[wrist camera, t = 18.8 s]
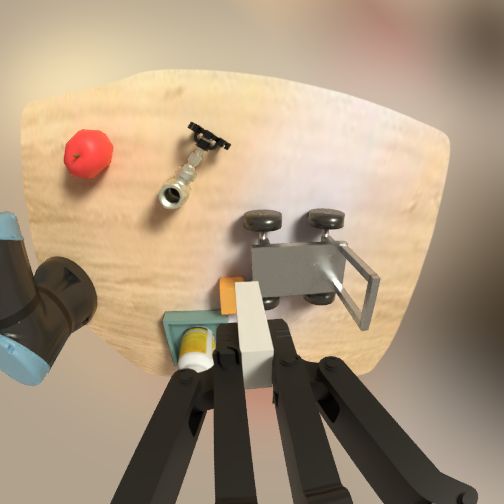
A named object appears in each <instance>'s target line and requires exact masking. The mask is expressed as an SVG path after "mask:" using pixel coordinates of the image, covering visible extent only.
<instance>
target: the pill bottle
mask: <svg viewBox="0 0 504 504" xmlns="http://www.w3.org/2000/svg"><path fill="white" fill-rule="evenodd" d="M215 349H216V338H215V335H214V333H213V332H212V331H211V330H210V329H208V328H206V327H204V326H192V327H189V328H188V329H187V330H185V332H184V334H183V337H182V343H181V349H180V355H179V361H178V367H179V370H180V369H184V368H190V369H193V370H195V371H196V372H202V371H205V370H208V369H209V368H211V367H212V366H213V365H214V363H213V356H212V354H213V351H214V350H215Z"/></svg>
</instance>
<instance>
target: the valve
mask: <svg viewBox="0 0 504 504" xmlns="http://www.w3.org/2000/svg"><path fill="white" fill-rule="evenodd" d="M188 128H189V129H191V130H192V131H194V133H193V140H194V141H195V142H196V146H198V148H197V150H196V151H195V153H194V152H192V153H191V154H190V156H189V158H188V159H187V160H188V161H189V162H188V163H187V164H184V166H183V167H182V166H178V168H177V170H176V171H175V172H176V176H175V178H172V179H170V180H168V181H166V182H165V183H164V185H163V186H162V189H161V191H160V193H159V194H158V199H159V201H160V203H161V205H162V206H163V208H164V209H178V208H179V207H180V206H181V205H183V204H184V203H185V202H186V201H187V200H188V198H189V194H190V190H191V188H190V186H189V184H190V182H193V181H194V180H195V178H196V176H197V175H196V174H195V173H194V171H195V169H194V167H195V166H196V165H197V166H198V164H199V163H200V161H201V159H202V158H203V157H201V155H202V153H203V151H204V150H205V151H208V150H211V151H213V150H216V149H218V147H219V146H220V147H224V145H225V147H224V149H226V150H228V149H229V148H230V146H231V144H230V143H228V142H226V141H225V140H223V139H222V138H220V137H219V138H218V137H217V136H215V135H214V134H213V133H211V132H210V131H208V130H204V128H202V127H201V126H199V125H197V124H195V123H193V122H190V124H189V126H188ZM198 133H199V134H200V133H202V134H203V136H201V137H200V138H199V139H198V138H197V135H198ZM213 140H214V141H216V143H215V145H214V146H211V145H212V144H213V143H212V141H213ZM171 188H175V189H176V190H177V191H178V192H179V194H180V197H176V196H174V195H173V194H172V192H171Z"/></svg>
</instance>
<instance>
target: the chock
mask: <svg viewBox="0 0 504 504" xmlns="http://www.w3.org/2000/svg"><path fill="white" fill-rule="evenodd" d="M235 282H244V278H243V277H224V278H220V301H221V312H222V315H224V314H237V312H236V294H235Z"/></svg>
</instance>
